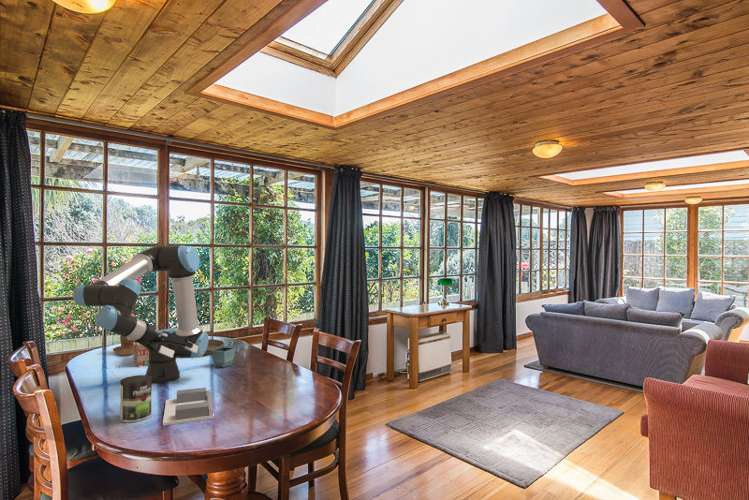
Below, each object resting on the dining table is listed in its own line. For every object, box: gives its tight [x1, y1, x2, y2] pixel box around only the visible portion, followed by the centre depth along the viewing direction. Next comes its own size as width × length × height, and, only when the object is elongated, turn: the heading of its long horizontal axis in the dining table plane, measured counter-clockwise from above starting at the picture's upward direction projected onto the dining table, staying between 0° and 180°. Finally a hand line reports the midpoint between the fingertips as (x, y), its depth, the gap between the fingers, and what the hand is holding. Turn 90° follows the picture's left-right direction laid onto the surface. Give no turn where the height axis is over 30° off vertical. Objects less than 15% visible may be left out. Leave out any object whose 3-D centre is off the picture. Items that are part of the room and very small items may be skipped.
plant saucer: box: [202, 338, 226, 357], centre depth 259 cm, size 31×31×5 cm
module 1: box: [176, 387, 207, 403], centre depth 175 cm, size 11×5×4 cm, turn 113°
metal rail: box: [206, 389, 214, 416], centre depth 170 cm, size 2×24×2 cm, turn 23°
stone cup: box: [112, 335, 135, 356], centre depth 253 cm, size 15×12×15 cm
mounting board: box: [162, 396, 215, 427], centre depth 167 cm, size 17×25×1 cm
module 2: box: [175, 402, 208, 420], centre depth 159 cm, size 11×5×4 cm, turn 113°
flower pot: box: [211, 346, 236, 368], centre depth 228 cm, size 9×9×9 cm
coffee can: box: [119, 374, 153, 423], centre depth 160 cm, size 10×10×14 cm
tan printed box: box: [132, 342, 149, 368], centre depth 236 cm, size 21×6×12 cm, turn 34°
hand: (184, 352), depth 174 cm, fingers open, 13 cm apart
